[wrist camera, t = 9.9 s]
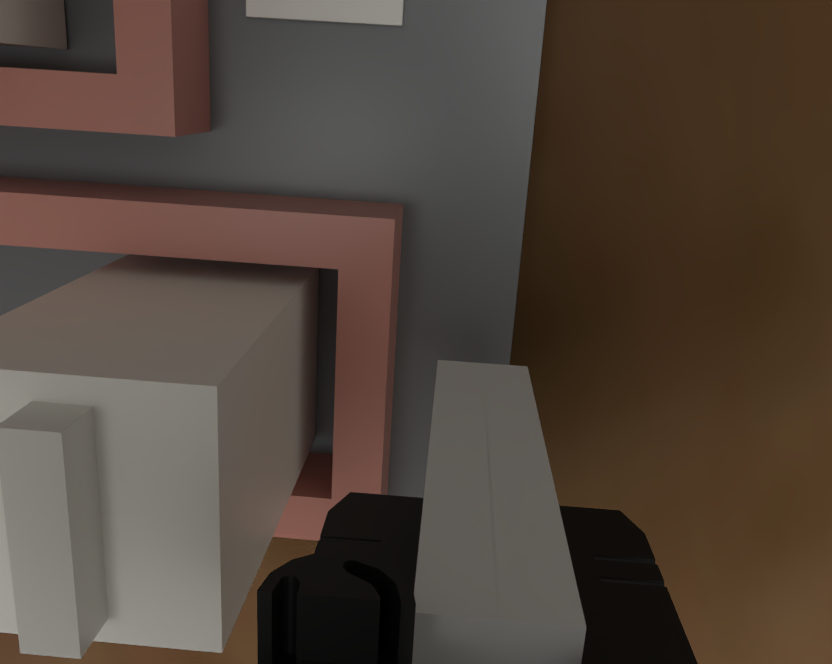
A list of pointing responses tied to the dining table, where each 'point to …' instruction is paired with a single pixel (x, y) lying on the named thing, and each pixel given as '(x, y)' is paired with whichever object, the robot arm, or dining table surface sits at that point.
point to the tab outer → (150, 448)
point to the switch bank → (293, 185)
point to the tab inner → (33, 23)
